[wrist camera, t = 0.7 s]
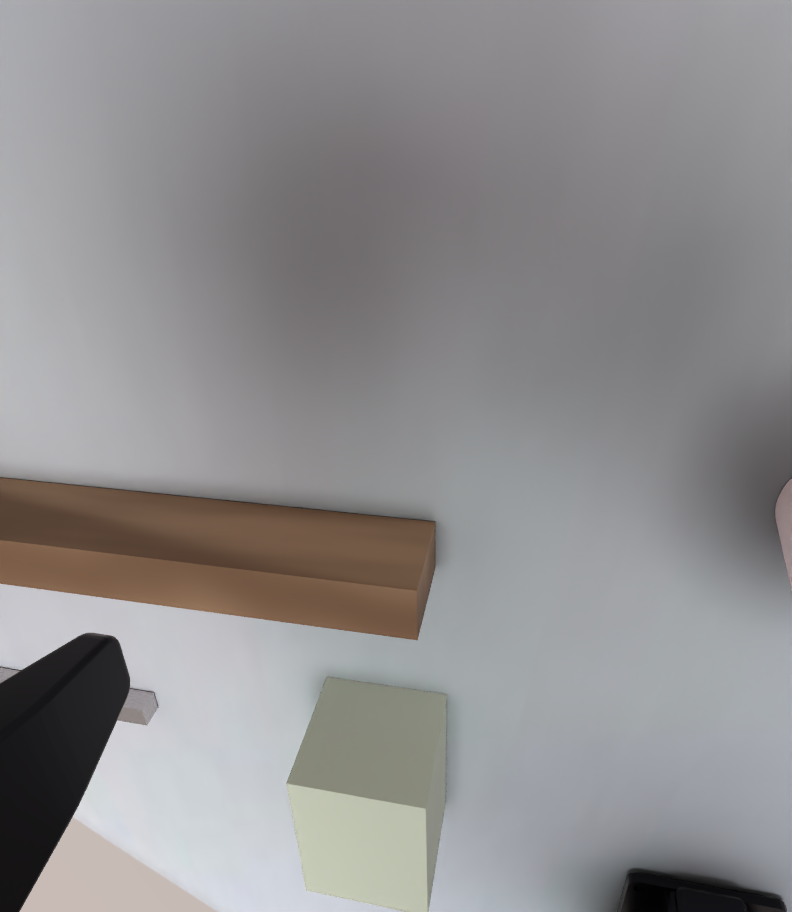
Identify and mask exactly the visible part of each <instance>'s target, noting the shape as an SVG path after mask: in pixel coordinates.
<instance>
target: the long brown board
mask: <svg viewBox="0 0 792 912" xmlns="http://www.w3.org/2000/svg"><path fill="white" fill-rule="evenodd" d="M434 571H435V522H431V521H421V520H411V519H401V518H392V517H382V516H372V515H362V514H352V513H342V512H332V511H323V510H313V509H303V508H293V507H283V506H273V505H264V504H254V503H244V502H234V501H224V500H214V499H205V498H195V497H185V496H175V495H165V494H155V493H145V492H136V491H126V490H116V489H106V488H96V487H86V486H77V485H67V484H57V483H47V482H37V481H27V480H18V479H8V478H0V583H1V584H8V585H15V586H23V587H30V588H37V589H45V590H52V591H59V592H67V593H74V594H81V595H89V596H96V597H104V598H111V599H118V600H126V601H133V602H140V603H148V604H155V605H162V606H170V607H177V608H184V609H192V610H199V611H207V612H214V613H221V614H229V615H236V616H243V617H251V618H258V619H265V620H273V621H280V622H287V623H295V624H302V625H310V626H317V627H324V628H332V629H339V630H346V631H354V632H361V633H368V634H376V635H383V636H390V637H398V638H405V639H413V640H418V636H419V632H420V628H421V624H422V620H423V615H424V611H425V607H426V603H427V599H428V595H429V591H430V587H431V583H432V579H433V575H434Z"/></svg>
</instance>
